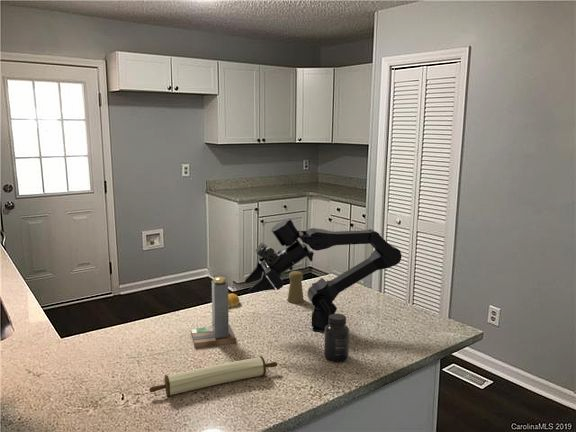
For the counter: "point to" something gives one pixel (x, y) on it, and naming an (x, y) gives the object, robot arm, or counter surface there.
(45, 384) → the counter surface
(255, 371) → the rolling pin
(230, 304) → the bread roll
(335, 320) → the supplement bottle
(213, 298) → the grey square pillar
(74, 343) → the counter surface
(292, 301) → the cork
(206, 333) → the board
